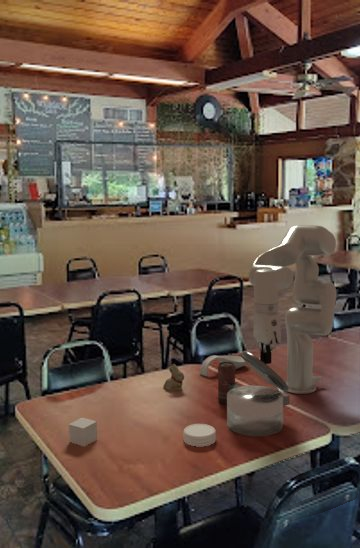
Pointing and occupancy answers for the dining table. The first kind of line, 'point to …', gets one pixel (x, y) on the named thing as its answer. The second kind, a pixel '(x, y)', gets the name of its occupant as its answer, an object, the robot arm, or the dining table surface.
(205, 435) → the white short cylinder
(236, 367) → the spoon rest
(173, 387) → the chocolate bunny
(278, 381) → the lid
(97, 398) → the dining table surface
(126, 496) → the dining table surface
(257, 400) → the round storage jar
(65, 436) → the dining table surface
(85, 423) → the light grey cube
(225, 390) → the can
